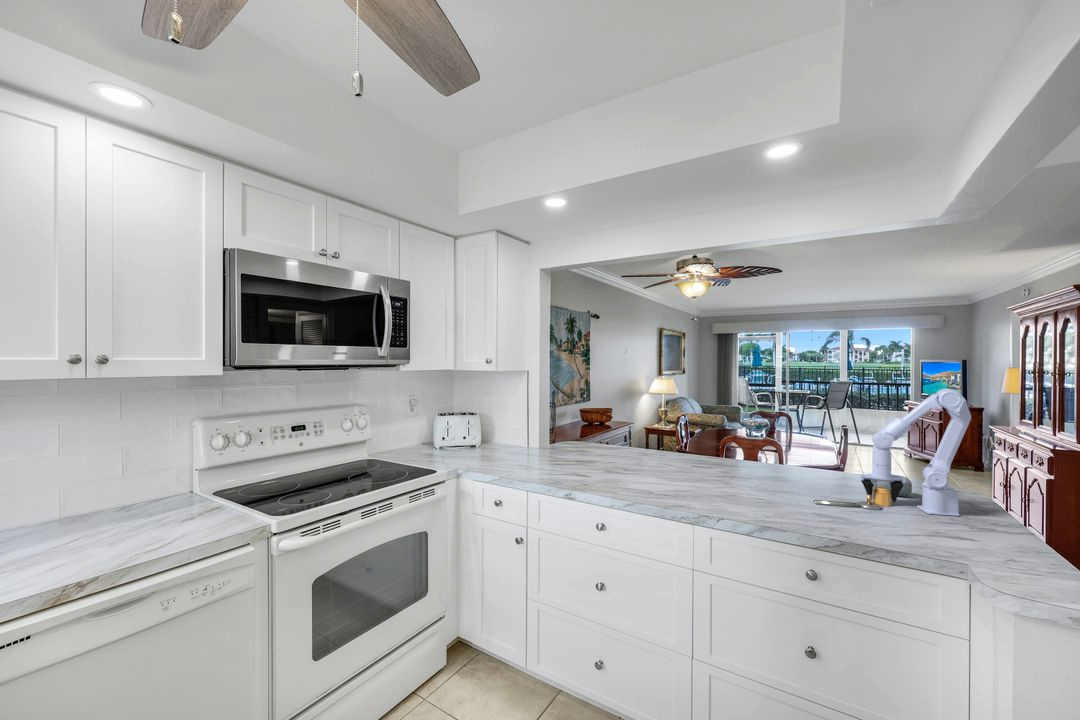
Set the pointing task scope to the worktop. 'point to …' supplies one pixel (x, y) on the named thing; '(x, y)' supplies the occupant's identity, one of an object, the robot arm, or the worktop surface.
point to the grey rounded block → (903, 492)
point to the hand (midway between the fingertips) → (881, 500)
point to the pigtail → (852, 504)
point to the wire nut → (882, 496)
